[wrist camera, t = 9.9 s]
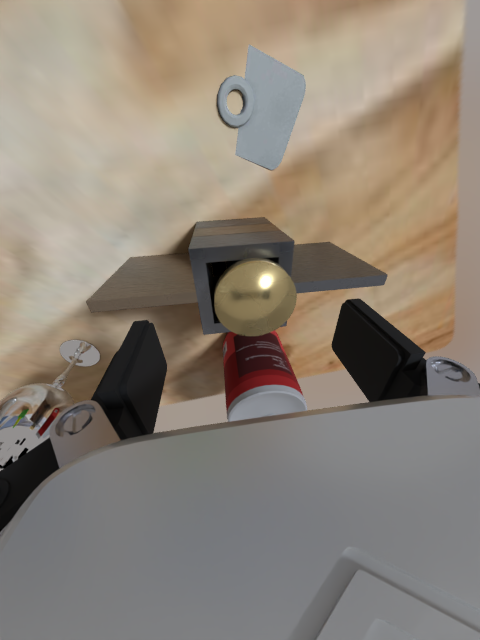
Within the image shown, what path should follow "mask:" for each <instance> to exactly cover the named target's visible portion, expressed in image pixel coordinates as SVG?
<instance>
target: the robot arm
mask: <svg viewBox="0 0 480 640" xmlns="http://www.w3.org/2000/svg"><path fill="white" fill-rule="evenodd" d="M332 349H333V351H334V352H335V354H336V355H337V357H338V358H339V359H340V361H341V362H342V364H343V365H344V366H345V368H346V369H347V371H348V372H349V374H350V375H351V376H352V378H353V379H354V381H355V382H356V383H357V385H358V386H359V388H360V389H361V390H362V392H363V393H364V395H365V396H366V398H367V399H368V400H369V402H368V403H360V404H353V405H345V406H338V407H330V408H323V409H316V410H309V411H301V412H294V413H287V414H280V415H273V416H266V417H258V418H251V419H244V420H238V421H231V422H224V423H217V424H210V425H203V426H196V427H190V428H183V429H177V430H171V431H166V432H159V433H153V431H154V427H155V422H156V418H157V413H158V409H159V404H160V399H161V395H162V390H163V386H164V381H165V376H166V372H167V363H166V360H165V357H164V354H163V351H162V348H161V345H160V342H159V339H158V336H157V333H156V330H155V327H154V325H153V323H149V321H148V320H143V321H135V322H133V324H132V326H131V328H130V330H129V332H128V334H127V336H126V338H125V340H124V342H123V343H122V345H121V347H120V349H119V351H117V352H116V354H115V355H114V357H113V359H112V361H111V363H110V365H109V366H108V368H107V370H106V372H105V374H104V376H103V378H102V380H101V382H100V384H99V385H98V387H97V389H96V391H95V393H94V395H93V397H92V399H91V400H85V401H81V402H78V403H76V404H74V405H72V406H70V407H68V408H67V409H65V410H64V411H63V412H62V413H61V414H59V415H58V416H57V417H56V419H55V420H54V422H53V423H52V425H51V427H50V430H49V436H50V437H49V438H48V439H46V440H45V441H43V442H42V443H41V444H39V445H38V446H36V447H35V448H33V449H32V450H30V451H29V452H28V453H26V454H25V455H23V456H22V457H20V458H19V459H17V460H16V461H14V462H13V463H12V464H10V465H9V466H7V467H6V468H4V469H3V470H1V471H0V640H480V384H479V383H478V382H477V378H476V376H475V374H474V373H473V372H472V371H471V370H470V369H469V368H467V367H466V366H464V365H463V364H461V363H459V362H456V361H454V360H451V359H449V358H444V357H431V358H429V359H427V361H426V360H425V359H424V358H423V356H424V354H425V353H426V352H424V351H423V350H422V349H421V348H420V347H418V346H417V345H416V344H415V343H413V342H412V341H411V340H410V339H409V338H407V337H406V336H405V335H404V334H402V333H401V332H400V331H399V330H398V329H396V328H395V327H394V326H393V325H391V324H390V323H389V322H388V321H387V320H385V319H384V318H383V317H382V316H380V315H379V314H378V313H377V312H376V311H374V310H373V309H372V308H371V307H369V306H368V305H367V304H366V303H365V302H363V301H362V300H361V299H350V300H346V301H345V303H343V304H342V306H341V310H340V314H339V318H338V322H337V326H336V330H335V333H334V337H333V341H332Z"/></svg>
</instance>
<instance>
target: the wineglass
mask: <svg viewBox="0 0 480 640" xmlns="http://www.w3.org/2000/svg"><path fill="white" fill-rule="evenodd" d="M60 354H61V355H62V357H63V358H64V359H65V360H67V361H68V362H70V365H69V366H68V367H67V369H66V370H65V371H64V372H63V373H62V374H61V375H60V376H58V377H57V378H56V379H55V380H54V382H53V383H52V384H48V383H34V384H29V385H25V386H22V387H20V388H17V389H15V390H14V391H12V392H10V393H9V394H8V395H7V396H5V397H4V398H3V399H2V400H0V469H4V468H6V467H7V466H9V465H10V464H12V463H13V462H14V461H16V460H17V459H19V458H20V457H22V456H23V455H25V454H26V453H28V452H29V451H30V450H32V449H33V448H35V447H36V446H38V445H39V444H41V443H42V442H43V441H45V440H46V439H48V438H49V437H50V436H49V430H50V427H51V425H52V423H53V422H54V420H55V419H56V417H57V416H58V415H59V414H61V413H62V412H63V411H64V410H65V409H67V408H68V407H70V406H72V405H74V401H73V398H72V396H71V395H70V394H69V393H68V392H67V391H66V390H64V389H63V388H61V387H62V386H63V385H64V384H65V382H66V378H67V376H68V374H69V372H70V371H71V369H72V368H73V367H74V365H78V366H92V365H94V364H96V363H97V362H98V361H99V360H100V353H99V351H98V349H97V348H96V347H95V346H93V345H92V344H90V343H88V342H85V341H82V340H68V341H65V342H64V343H62V344H61V346H60Z"/></svg>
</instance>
